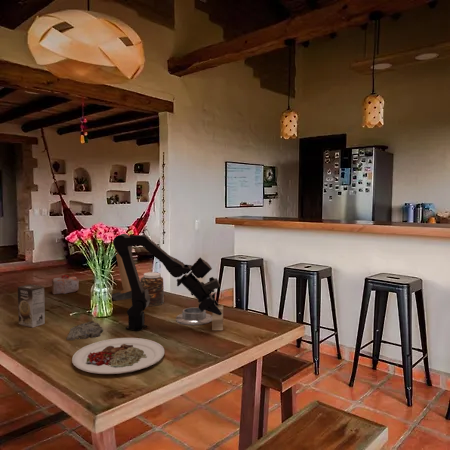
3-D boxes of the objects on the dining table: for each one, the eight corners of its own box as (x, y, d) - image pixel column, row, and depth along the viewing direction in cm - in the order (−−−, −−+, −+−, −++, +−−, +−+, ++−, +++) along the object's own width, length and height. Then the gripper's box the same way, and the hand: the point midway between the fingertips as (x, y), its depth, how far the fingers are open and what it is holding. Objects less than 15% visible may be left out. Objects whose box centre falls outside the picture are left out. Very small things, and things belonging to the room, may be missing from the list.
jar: (166, 300, 211) (166, 272, 210) (160, 306, 200) (160, 276, 199) (144, 299, 212) (143, 271, 211) (137, 305, 201) (136, 275, 200)
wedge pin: (222, 330, 165) (223, 308, 165) (212, 330, 165) (212, 308, 165) (222, 326, 170) (223, 305, 169) (212, 326, 170) (212, 305, 169)
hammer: (111, 305, 209) (99, 250, 204) (108, 303, 214) (97, 248, 208) (147, 293, 219) (136, 240, 214) (143, 291, 223) (133, 239, 218)
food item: (76, 289, 234) (76, 272, 233) (79, 292, 227) (79, 275, 226) (51, 292, 227) (50, 274, 226) (53, 295, 220) (52, 277, 219)
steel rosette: (200, 327, 169) (200, 318, 168) (168, 321, 176) (168, 312, 176) (218, 317, 183) (218, 308, 183) (188, 312, 190) (188, 303, 190)
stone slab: (105, 326, 172) (104, 319, 171) (99, 340, 155) (99, 332, 155) (73, 328, 169) (73, 320, 169) (64, 342, 152) (64, 334, 152)
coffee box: (17, 324, 171) (16, 286, 170) (31, 320, 177) (30, 283, 176) (32, 327, 167) (31, 289, 166) (45, 323, 172) (44, 286, 171)
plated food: (182, 357, 138) (182, 348, 138) (104, 388, 116) (104, 377, 116) (130, 336, 158) (130, 328, 158) (55, 359, 136) (55, 349, 136)
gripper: (207, 277, 156) (235, 305, 157) (209, 268, 175) (234, 293, 176) (186, 296, 157) (215, 325, 158) (191, 286, 176) (216, 311, 176)
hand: (221, 312), depth 167 cm, fingers closed on wedge pin, 4 cm apart
